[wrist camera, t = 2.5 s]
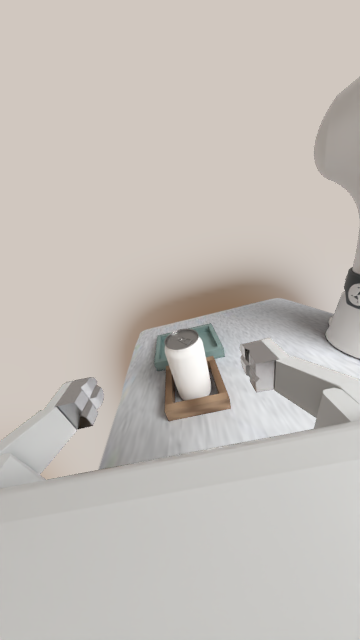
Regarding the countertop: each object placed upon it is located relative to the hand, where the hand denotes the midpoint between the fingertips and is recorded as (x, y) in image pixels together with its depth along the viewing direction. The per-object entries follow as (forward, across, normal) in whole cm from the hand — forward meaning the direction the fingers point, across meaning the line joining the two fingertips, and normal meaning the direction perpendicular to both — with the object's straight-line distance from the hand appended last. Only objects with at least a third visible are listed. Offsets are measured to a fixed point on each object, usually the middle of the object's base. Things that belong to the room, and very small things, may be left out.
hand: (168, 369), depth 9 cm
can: (+15, 0, +20) cm, 25 cm away
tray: (+28, 0, +20) cm, 34 cm away
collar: (+15, 0, +20) cm, 25 cm away
